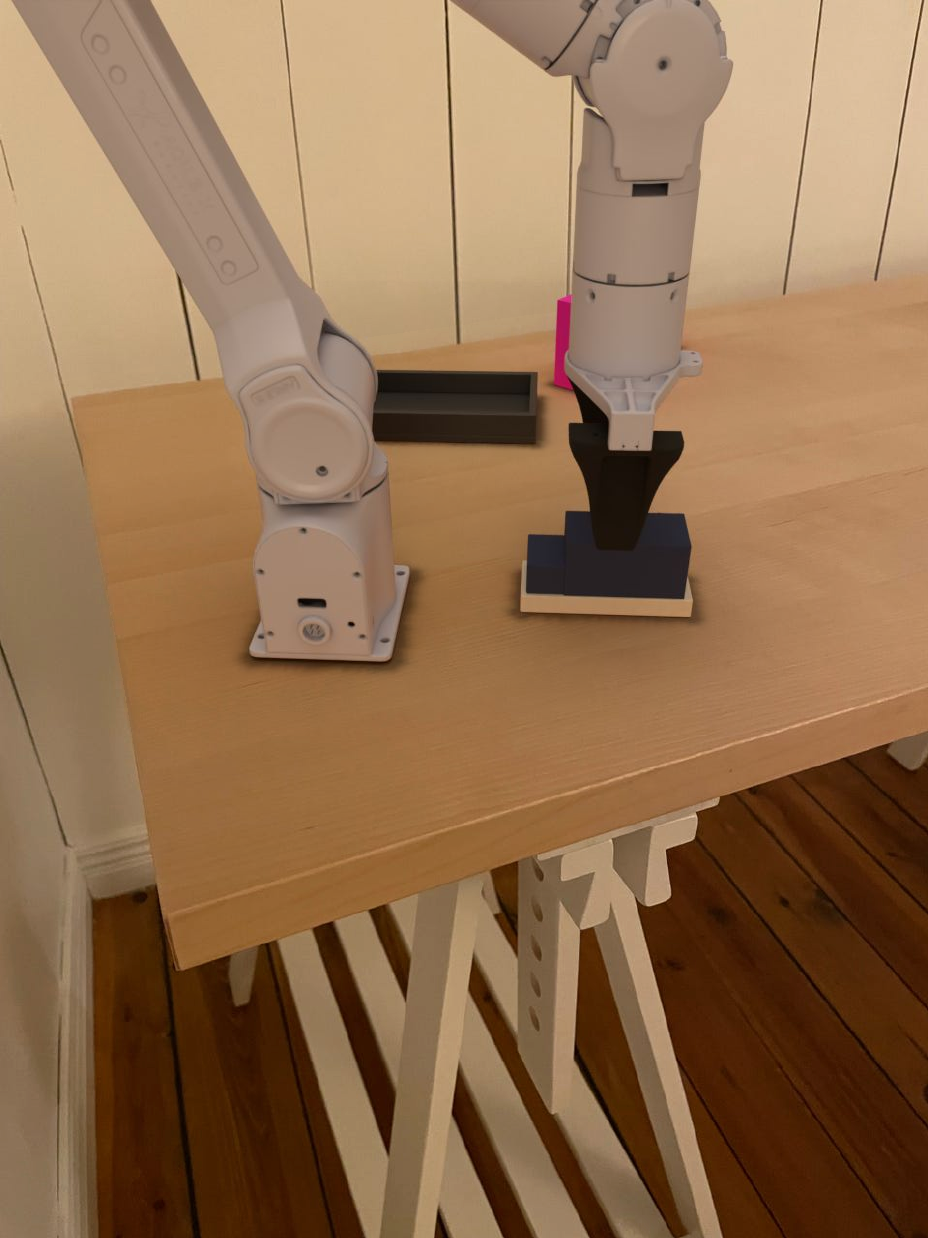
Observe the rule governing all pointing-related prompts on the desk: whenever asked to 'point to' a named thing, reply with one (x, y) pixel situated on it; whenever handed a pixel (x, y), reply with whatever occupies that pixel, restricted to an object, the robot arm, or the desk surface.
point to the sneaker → (609, 571)
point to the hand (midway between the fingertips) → (611, 512)
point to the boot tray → (455, 406)
